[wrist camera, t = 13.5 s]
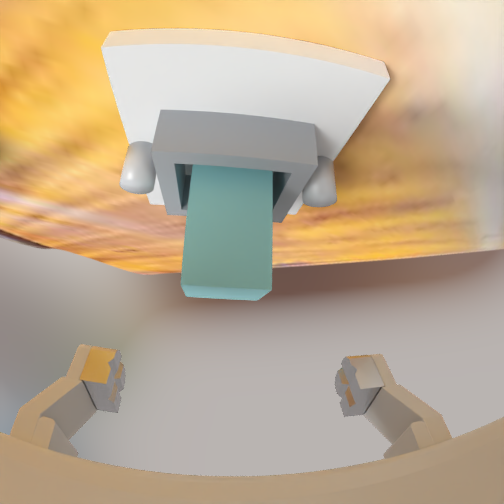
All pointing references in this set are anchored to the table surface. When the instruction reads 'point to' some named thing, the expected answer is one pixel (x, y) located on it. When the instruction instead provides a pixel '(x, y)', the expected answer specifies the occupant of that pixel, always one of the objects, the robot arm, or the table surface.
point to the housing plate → (236, 110)
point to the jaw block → (228, 233)
